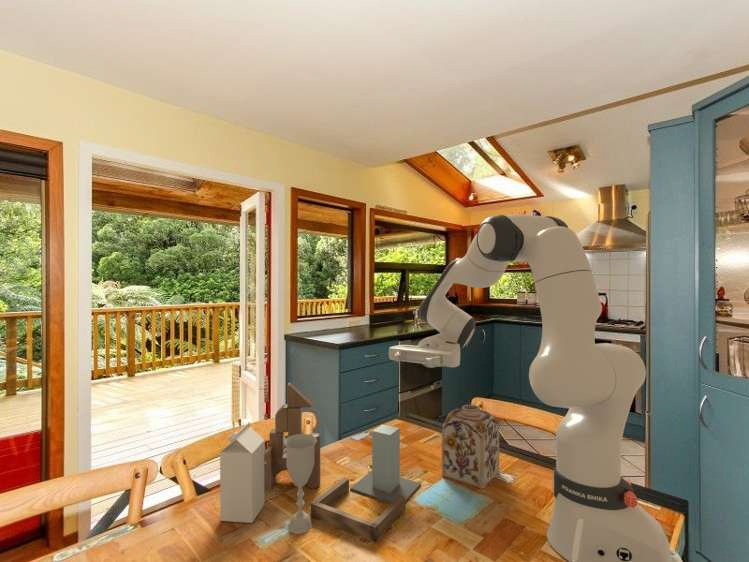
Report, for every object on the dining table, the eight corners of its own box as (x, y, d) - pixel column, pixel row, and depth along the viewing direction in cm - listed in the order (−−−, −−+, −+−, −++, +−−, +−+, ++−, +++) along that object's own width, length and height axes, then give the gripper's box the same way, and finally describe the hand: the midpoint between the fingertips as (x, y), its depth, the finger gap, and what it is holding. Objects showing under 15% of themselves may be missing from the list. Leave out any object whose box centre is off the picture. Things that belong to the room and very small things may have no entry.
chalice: (281, 519, 86) (281, 436, 86) (312, 512, 88) (312, 432, 88) (286, 540, 79) (286, 450, 79) (320, 532, 82) (320, 445, 81)
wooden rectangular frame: (404, 509, 90) (404, 496, 90) (375, 542, 78) (375, 527, 78) (344, 489, 98) (344, 477, 98) (310, 517, 87) (310, 503, 87)
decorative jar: (483, 491, 98) (483, 417, 97) (440, 476, 105) (440, 408, 104) (500, 471, 107) (500, 405, 107) (460, 459, 114) (460, 397, 114)
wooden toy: (256, 491, 97) (255, 389, 97) (261, 477, 104) (261, 382, 104) (319, 488, 98) (319, 388, 98) (321, 475, 105) (321, 380, 105)
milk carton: (264, 504, 92) (264, 422, 91) (252, 524, 84) (251, 434, 84) (234, 503, 92) (234, 421, 92) (220, 521, 85) (219, 433, 85)
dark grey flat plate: (421, 485, 100) (421, 483, 100) (401, 506, 91) (401, 504, 91) (373, 471, 107) (373, 469, 107) (350, 490, 98) (350, 488, 98)
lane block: (399, 483, 100) (399, 428, 100) (390, 493, 96) (390, 435, 95) (382, 478, 102) (382, 424, 102) (372, 487, 98) (372, 430, 98)
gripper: (400, 338, 124) (378, 345, 112) (464, 344, 113) (447, 352, 102) (400, 358, 124) (378, 367, 112) (464, 366, 113) (447, 377, 102)
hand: (411, 360), depth 107 cm, fingers open, 8 cm apart
